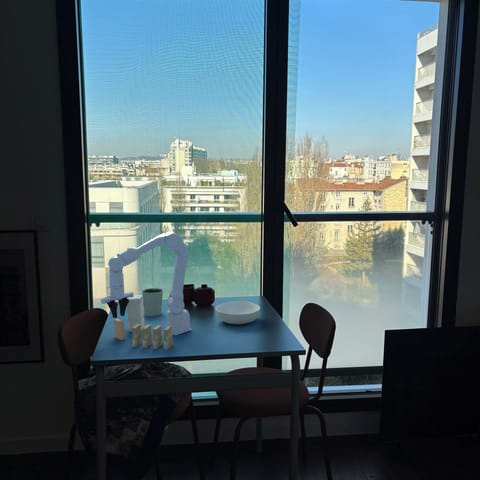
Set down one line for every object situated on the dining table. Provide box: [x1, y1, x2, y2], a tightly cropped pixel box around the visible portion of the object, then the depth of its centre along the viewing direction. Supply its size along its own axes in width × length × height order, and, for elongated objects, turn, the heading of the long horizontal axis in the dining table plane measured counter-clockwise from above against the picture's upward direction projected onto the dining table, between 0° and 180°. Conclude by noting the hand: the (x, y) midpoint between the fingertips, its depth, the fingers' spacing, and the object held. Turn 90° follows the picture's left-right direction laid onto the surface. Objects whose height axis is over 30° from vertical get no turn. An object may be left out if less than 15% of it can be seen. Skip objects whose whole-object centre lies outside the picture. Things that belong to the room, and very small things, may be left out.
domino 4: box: [163, 325, 174, 350], centre depth 185 cm, size 2×5×8 cm, turn 167°
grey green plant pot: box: [141, 287, 164, 317], centre depth 230 cm, size 10×10×12 cm
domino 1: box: [131, 324, 143, 348], centre depth 188 cm, size 2×5×8 cm, turn 167°
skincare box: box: [126, 294, 146, 333], centre depth 207 cm, size 8×6×15 cm
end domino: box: [113, 318, 126, 341], centre depth 196 cm, size 2×5×8 cm, turn 47°
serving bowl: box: [215, 301, 261, 325], centre depth 216 cm, size 21×21×7 cm
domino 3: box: [152, 324, 163, 350], centre depth 186 cm, size 2×5×8 cm, turn 167°
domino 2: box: [141, 324, 153, 349], centre depth 187 cm, size 2×5×8 cm, turn 167°
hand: (118, 316), depth 195 cm, fingers open, 3 cm apart
